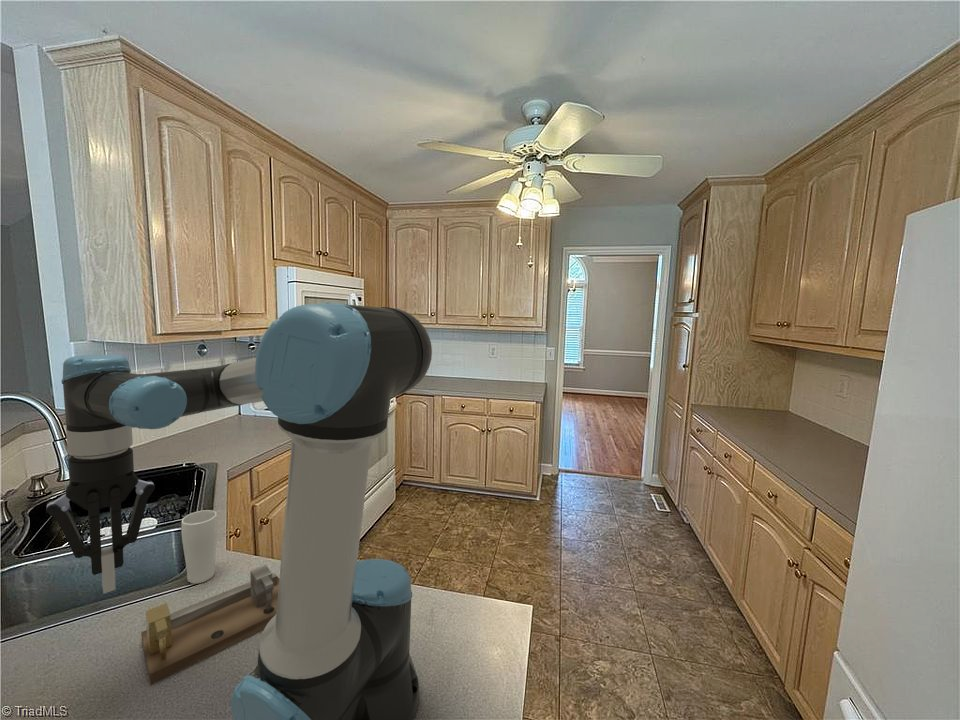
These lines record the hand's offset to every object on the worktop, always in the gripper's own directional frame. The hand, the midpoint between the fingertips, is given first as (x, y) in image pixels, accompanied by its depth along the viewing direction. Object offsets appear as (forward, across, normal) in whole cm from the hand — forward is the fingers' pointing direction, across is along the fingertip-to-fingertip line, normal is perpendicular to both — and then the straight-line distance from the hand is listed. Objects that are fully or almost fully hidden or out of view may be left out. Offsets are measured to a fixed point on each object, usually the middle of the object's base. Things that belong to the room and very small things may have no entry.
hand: (109, 587), depth 66 cm
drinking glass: (+16, -16, -19) cm, 30 cm away
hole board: (+16, -16, +1) cm, 23 cm away
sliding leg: (+14, -6, +2) cm, 15 cm away
